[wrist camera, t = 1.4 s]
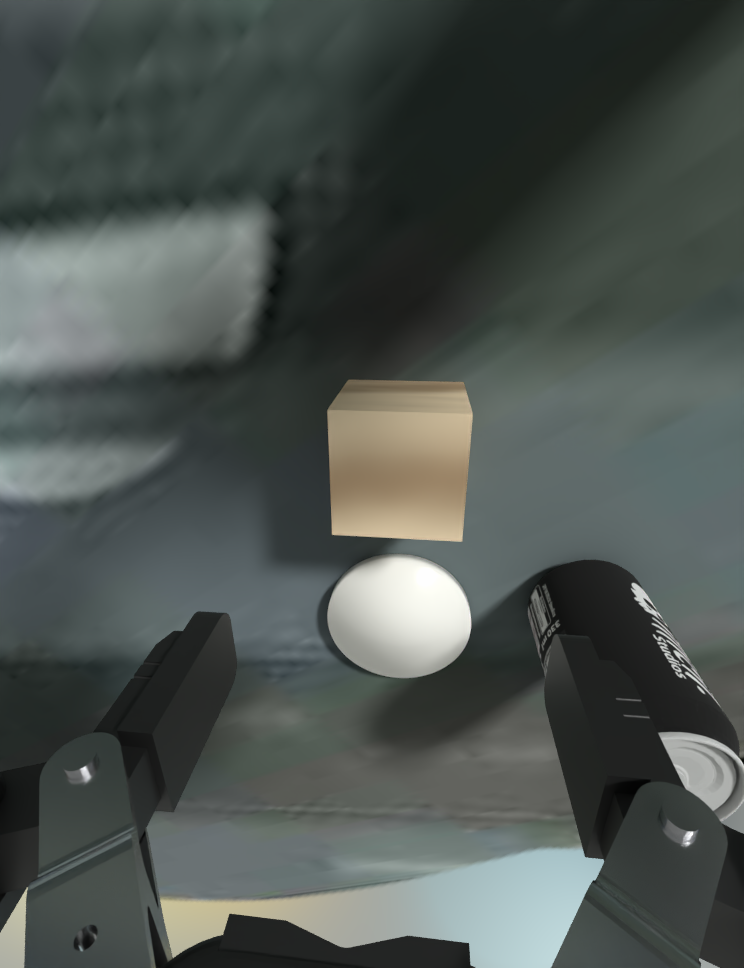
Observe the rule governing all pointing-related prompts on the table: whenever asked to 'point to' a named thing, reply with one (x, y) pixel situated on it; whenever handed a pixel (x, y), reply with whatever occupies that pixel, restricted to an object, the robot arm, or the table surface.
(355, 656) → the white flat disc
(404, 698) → the table surface
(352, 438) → the oak cube
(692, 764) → the beverage can
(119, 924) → the robot arm
